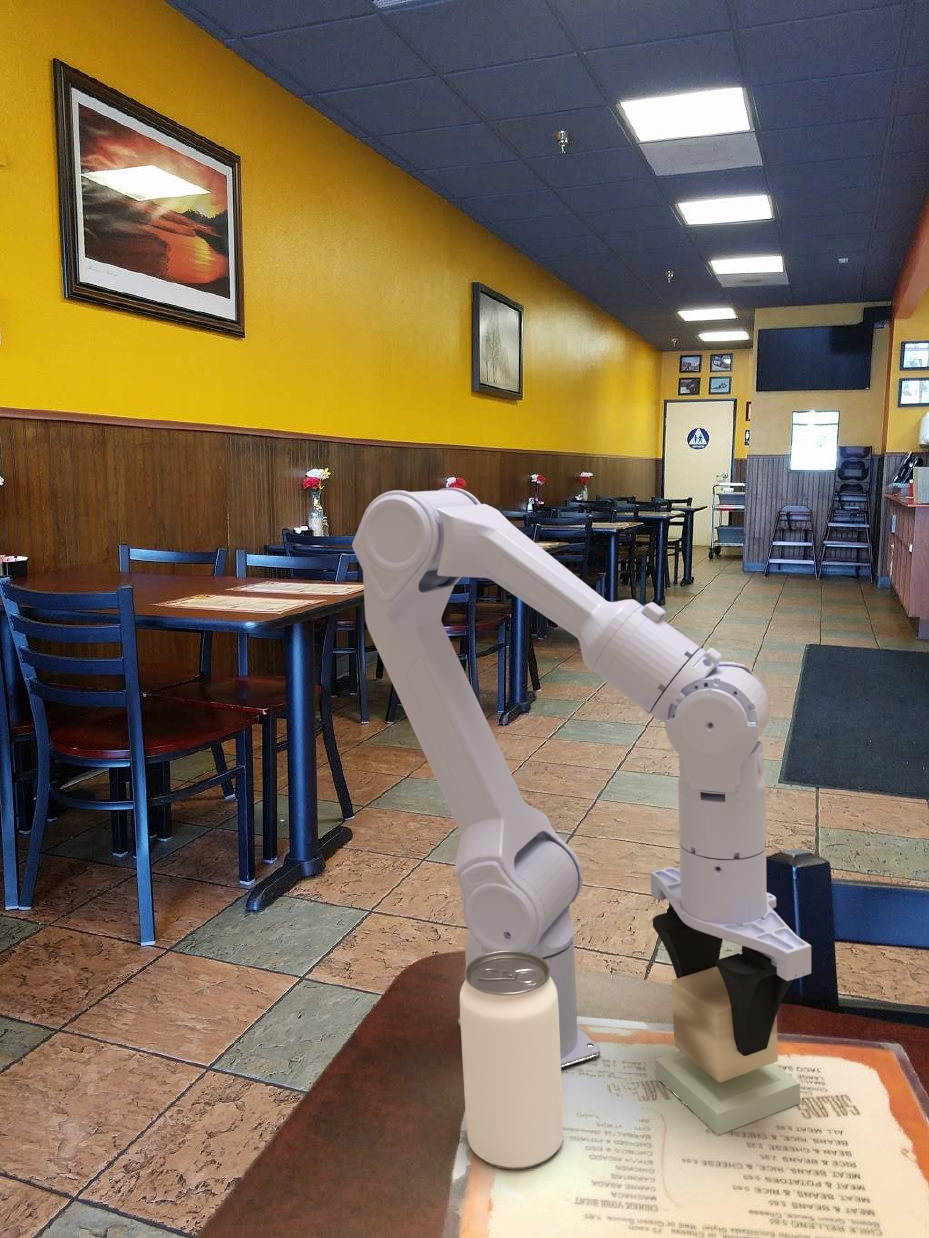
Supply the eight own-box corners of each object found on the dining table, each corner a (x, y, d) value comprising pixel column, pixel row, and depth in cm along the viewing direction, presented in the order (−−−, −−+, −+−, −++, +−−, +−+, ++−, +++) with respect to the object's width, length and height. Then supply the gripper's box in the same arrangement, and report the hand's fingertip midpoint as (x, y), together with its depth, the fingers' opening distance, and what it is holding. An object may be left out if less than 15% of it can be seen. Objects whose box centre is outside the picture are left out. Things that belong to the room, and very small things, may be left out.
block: (674, 1046, 68) (671, 980, 68) (730, 1026, 70) (728, 962, 70) (719, 1082, 64) (717, 1012, 63) (777, 1061, 66) (776, 992, 65)
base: (656, 1077, 69) (655, 1058, 69) (732, 1050, 72) (732, 1031, 72) (718, 1135, 63) (717, 1113, 63) (800, 1103, 66) (799, 1082, 66)
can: (558, 1178, 60) (551, 1000, 58) (458, 1168, 61) (448, 993, 60) (568, 1111, 66) (561, 949, 65) (477, 1104, 68) (468, 944, 66)
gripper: (848, 868, 60) (848, 1067, 62) (702, 803, 73) (706, 969, 75) (759, 892, 57) (762, 1100, 59) (625, 821, 71) (630, 992, 72)
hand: (725, 1029), depth 67 cm, fingers closed on block, 5 cm apart
